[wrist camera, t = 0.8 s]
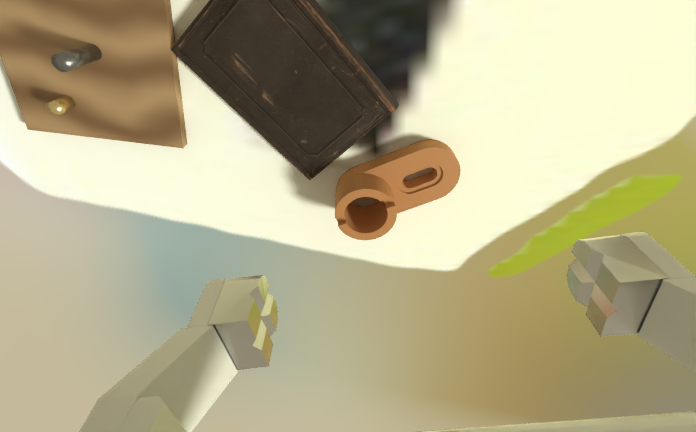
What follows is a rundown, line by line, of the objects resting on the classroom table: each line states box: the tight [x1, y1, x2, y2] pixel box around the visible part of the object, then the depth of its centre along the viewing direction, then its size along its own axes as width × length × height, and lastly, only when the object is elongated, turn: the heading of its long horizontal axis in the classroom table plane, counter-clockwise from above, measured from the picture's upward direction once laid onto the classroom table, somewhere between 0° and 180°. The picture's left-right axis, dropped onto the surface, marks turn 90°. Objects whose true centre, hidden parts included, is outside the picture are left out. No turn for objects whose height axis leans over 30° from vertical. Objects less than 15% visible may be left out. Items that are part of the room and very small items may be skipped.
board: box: [0, 0, 187, 148], centre depth 44 cm, size 20×20×2 cm
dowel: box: [46, 96, 76, 116], centre depth 45 cm, size 2×2×3 cm
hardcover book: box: [171, 0, 399, 180], centre depth 46 cm, size 16×23×2 cm
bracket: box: [335, 140, 460, 240], centre depth 52 cm, size 18×8×7 cm, turn 114°
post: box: [51, 44, 102, 72], centre depth 41 cm, size 2×2×6 cm
